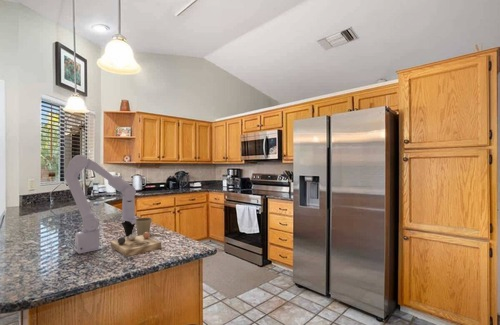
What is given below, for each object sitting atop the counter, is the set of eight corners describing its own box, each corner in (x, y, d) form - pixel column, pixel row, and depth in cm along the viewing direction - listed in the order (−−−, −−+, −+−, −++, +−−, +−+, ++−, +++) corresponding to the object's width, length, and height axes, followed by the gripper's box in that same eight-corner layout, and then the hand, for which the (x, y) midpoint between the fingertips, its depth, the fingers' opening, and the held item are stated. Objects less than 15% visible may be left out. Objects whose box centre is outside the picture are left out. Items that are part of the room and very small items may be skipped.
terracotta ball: (144, 239, 126) (144, 233, 126) (141, 238, 128) (141, 232, 128) (150, 238, 128) (150, 231, 128) (148, 237, 130) (148, 230, 130)
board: (125, 256, 110) (125, 250, 110) (110, 246, 124) (110, 241, 124) (161, 247, 121) (161, 242, 121) (143, 239, 135) (143, 234, 135)
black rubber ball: (119, 245, 116) (119, 238, 117) (116, 244, 119) (116, 237, 119) (126, 244, 119) (126, 237, 119) (124, 242, 121) (124, 235, 121)
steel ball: (130, 241, 123) (130, 234, 123) (127, 240, 125) (127, 233, 125) (137, 240, 125) (137, 233, 125) (134, 238, 127) (134, 232, 127)
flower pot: (140, 237, 138) (139, 221, 138) (131, 235, 144) (131, 219, 144) (155, 234, 146) (155, 218, 146) (146, 231, 151) (146, 216, 152)
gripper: (142, 209, 127) (142, 237, 126) (131, 206, 137) (131, 232, 137) (127, 211, 122) (127, 240, 121) (117, 208, 132) (117, 234, 132)
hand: (128, 236), depth 129 cm, fingers closed
